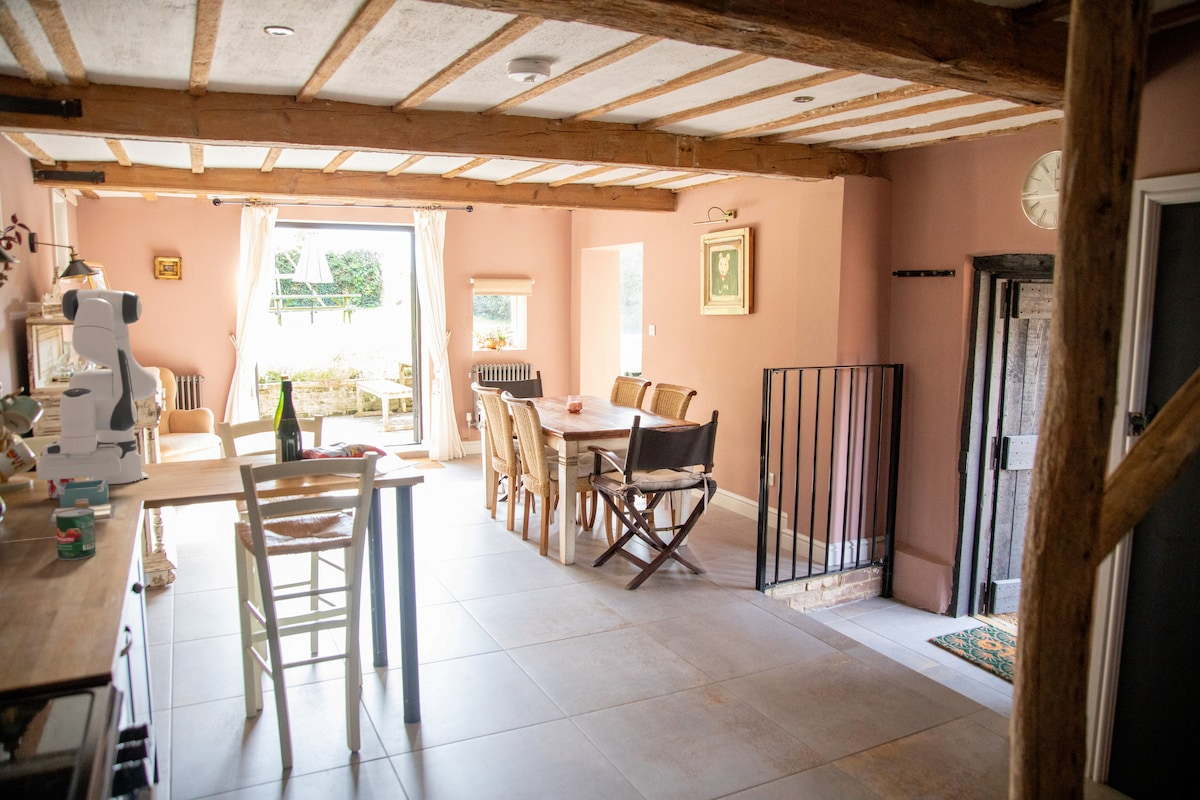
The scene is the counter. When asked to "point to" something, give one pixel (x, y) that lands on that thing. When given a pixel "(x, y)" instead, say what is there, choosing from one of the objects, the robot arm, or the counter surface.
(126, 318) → the robot arm
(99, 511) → the lid
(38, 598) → the counter surface
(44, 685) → the counter surface
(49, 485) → the soda can
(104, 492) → the teal open box
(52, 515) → the mat
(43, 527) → the counter surface
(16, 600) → the counter surface
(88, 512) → the canned tomato
